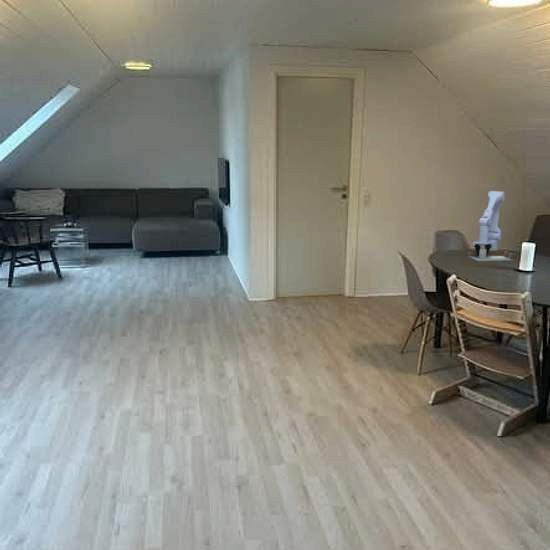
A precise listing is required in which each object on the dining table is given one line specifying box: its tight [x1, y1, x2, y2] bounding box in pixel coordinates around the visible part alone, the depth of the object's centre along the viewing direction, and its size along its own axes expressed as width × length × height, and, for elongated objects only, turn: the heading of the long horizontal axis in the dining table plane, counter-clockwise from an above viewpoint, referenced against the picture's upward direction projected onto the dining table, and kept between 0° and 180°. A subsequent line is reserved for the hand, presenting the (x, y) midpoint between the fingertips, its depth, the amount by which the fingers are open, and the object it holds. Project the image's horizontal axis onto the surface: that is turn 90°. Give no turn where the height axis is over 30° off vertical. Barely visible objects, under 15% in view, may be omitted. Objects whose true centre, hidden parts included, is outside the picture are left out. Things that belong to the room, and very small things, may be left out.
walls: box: [467, 249, 517, 261], centre depth 378 cm, size 16×26×4 cm, turn 96°
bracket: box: [478, 248, 493, 262], centre depth 375 cm, size 10×5×6 cm, turn 6°
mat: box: [467, 256, 513, 262], centre depth 379 cm, size 16×26×1 cm, turn 96°
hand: (481, 255), depth 379 cm, fingers closed on bracket, 5 cm apart
